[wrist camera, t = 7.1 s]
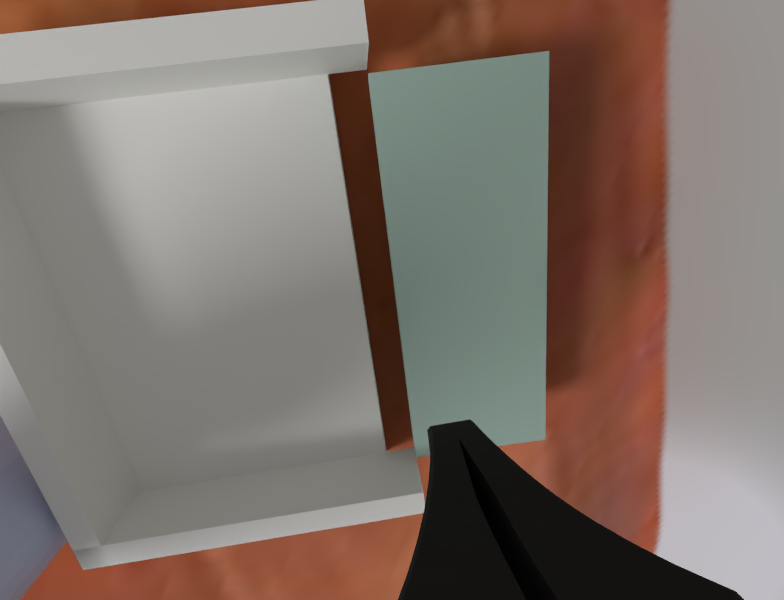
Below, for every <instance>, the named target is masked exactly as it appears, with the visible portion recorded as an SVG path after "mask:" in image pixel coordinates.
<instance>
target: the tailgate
mask: <svg viewBox="0 0 784 600" xmlns="http://www.w3.org/2000/svg"><path fill="white" fill-rule="evenodd" d="M368 83H369V91H370V99H371V107H372V115H373V123H374V131H375V139H376V147H377V155H378V163H379V171H380V179H381V187H382V195H383V203H384V211H385V219H386V227H387V235H388V243H389V251H390V259H391V267H392V275H393V283H394V291H395V299H396V307H397V315H398V323H399V331H400V339H401V347H402V355H403V363H404V371H405V379H406V387H407V395H408V403H409V411H410V419H411V427H412V435H413V442H414V448H415V455H416V457H423V456H430V449H429V441H428V432H427V430H428V428H429V427H430V426H434V425H440V424H446V423H452V422H457V421H463V420H469V419H470V420H471V421H473V422H474V423H475V424H476V425H477V426H478V427H479V428H480V429H481V430H482V431H483V432H484V433H485V435H486V436H487V437H488V438H489V439H490V440H492V441H493V442H494V443H495V444H496V445H497V446H502V445H509V444H516V443H523V442H530V441H537V440H545V419H546V321H547V224H548V126H549V51H544V52H536V53H527V54H519V55H511V56H503V57H495V58H487V59H479V60H471V61H463V62H455V63H447V64H439V65H431V66H423V67H415V68H407V69H399V70H391V71H383V72H375V73H368Z"/></svg>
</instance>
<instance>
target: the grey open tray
mask: <svg viewBox="0 0 784 600" xmlns="http://www.w3.org/2000/svg"><path fill="white" fill-rule="evenodd" d="M368 47H369V40H368V31H367V23H366V15H365V7H364V0H315V1H306V2H296V3H287V4H278V5H269V6H259V7H250V8H241V9H231V10H222V11H213V12H204V13H194V14H185V15H176V16H166V17H157V18H148V19H139V20H129V21H120V22H111V23H101V24H92V25H83V26H74V27H64V28H55V29H46V30H36V31H27V32H18V33H9V34H0V415H1V417H2V419H3V421H4V423H5V425H6V427H7V429H8V430H9V432H10V434H11V436H12V438H13V440H14V442H15V444H16V445H17V447H18V449H19V451H20V453H21V455H22V457H23V458H24V460H25V462H26V464H27V466H28V468H29V470H30V472H31V473H32V475H33V477H34V479H35V481H36V483H37V485H38V487H39V488H40V490H41V492H42V494H43V496H44V498H45V500H46V501H47V503H48V505H49V507H50V509H51V511H52V513H53V515H54V516H55V518H56V520H57V522H58V524H59V526H60V528H61V530H62V531H63V533H64V535H65V537H66V539H67V541H68V543H69V545H70V546H71V548H72V550H73V552H74V554H75V556H76V558H77V559H78V561H79V563H80V565H81V567H82V569H83V570H87V569H93V568H99V567H105V566H111V565H117V564H123V563H129V562H135V561H141V560H147V559H153V558H158V557H164V556H170V555H176V554H182V553H188V552H194V551H200V550H206V549H212V548H218V547H224V546H230V545H236V544H242V543H248V542H254V541H260V540H266V539H272V538H278V537H284V536H290V535H296V534H302V533H308V532H314V531H320V530H326V529H332V528H338V527H343V526H349V525H355V524H361V523H367V522H373V521H379V520H385V519H391V518H397V517H403V516H409V515H415V514H421V513H424V509H425V502H424V493H423V488H422V483H421V479H420V474H419V469H418V464H417V459H416V455H415V449H414V448H408V449H401V450H395V451H389V452H387V448H386V442H385V435H384V429H383V422H382V416H381V409H380V403H379V396H378V390H377V383H376V377H375V370H374V364H373V357H372V351H371V344H370V338H369V331H368V325H367V318H366V312H365V305H364V299H363V292H362V286H361V279H360V273H359V266H358V260H357V253H356V247H355V240H354V234H353V227H352V221H351V214H350V208H349V201H348V195H347V188H346V182H345V175H344V169H343V162H342V156H341V149H340V143H339V136H338V130H337V123H336V117H335V110H334V104H333V97H332V91H331V84H330V78H329V74H334V73H343V72H351V71H360V70H367V61H368Z"/></svg>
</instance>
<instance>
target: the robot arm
mask: <svg viewBox="0 0 784 600" xmlns="http://www.w3.org/2000/svg"><path fill="white" fill-rule="evenodd" d="M427 432H428V441H429V449H430V472H429V483H428V490H427V496H426V503H425V509H424V514H423V519H422V523H421V527H420V532H419V536H418V540H417V543H416V547H415V550H414V554H413V557H412V561H411V564H410V567H409V570H408V574H407V577H406V579H405V582H404V585H403V587H402V590H401V593H400V596H399V598H398V600H744V599H743V598H742V597H741V596H740V595H739V594H737V592H735V591H733V590H731V589H729V588H726V587H724V586H722V585H720V584H717V583H715V582H713V581H710V580H708V579H706V578H704V577H702V576H699V575H697V574H695V573H693V572H690V571H688V570H686V569H684V568H681V567H679V566H677V565H675V564H673V563H671V562H669V561H667V560H665V559H663V558H661V557H659V556H657V555H655V554H653V553H651V552H649V551H647V550H645V549H643V548H641V547H639V546H637V545H635V544H633V543H632V542H630V541H628V540H626V539H624V538H623V537H621V536H619V535H617V534H616V533H614V532H612V531H611V530H609V529H607V528H605V527H604V526H602V525H600V524H598V523H597V522H595V521H593V520H592V519H590V518H589V517H587V516H585V515H584V514H582V513H581V512H579V511H578V510H576V509H575V508H573V507H572V506H570V505H569V504H567V503H566V502H565V501H563V500H562V499H560V498H559V497H558V496H556V495H555V494H553V493H552V492H551V491H549V490H548V489H547V488H545V487H544V486H543V485H542V484H540V483H539V482H538V481H537V480H535V479H534V478H533V477H532V476H530V475H529V474H528V473H527V472H526V471H524V470H523V469H522V468H521V467H520V466H519V465H517V464H516V463H515V462H514V461H513V460H512V459H511V458H510V457H508V456H507V455H506V454H505V453H504V452H503V451H502V450H501V449H500V448H499V447H498V446H497V445H496V444H495V443H494V442H493V441H492V440H490V439H489V438H488V437H487V436H486V435H485V433H484V432H483V431H482V430H481V429H480V428H479V427H478V426H477V425H476V424H475V423H474V422H473V421H471V420H470V419H469V420H463V421H457V422H452V423H446V424H440V425H434V426H430V427H429V428H428V430H427ZM66 542H67V539H66V537H65V535H64V533H63V531H62V530H61V528H60V526H59V524H58V522H57V520H56V518H55V516H54V515H53V513H52V511H51V509H50V507H49V505H48V503H47V501H46V500H45V498H44V496H43V494H42V492H41V490H40V488H39V487H38V485H37V483H36V481H35V479H34V477H33V475H32V473H31V472H30V470H29V468H28V466H27V464H26V462H25V460H24V458H23V457H22V455H21V453H20V451H19V449H18V447H17V445H16V444H15V442H14V440H13V438H12V436H11V434H10V432H9V430H8V429H7V427H6V425H5V423H4V421H3V419H2V417H1V415H0V600H20V599H21V598H22V597H23V596H24V594H25V593H26V592H27V591H28V589H29V588H30V587H31V586H32V584H33V583H34V582H35V581H36V579H37V578H38V577H39V576H40V574H41V573H42V572H43V571H44V569H45V568H46V567H47V566H48V565H49V563H50V562H51V561H52V560H53V558H54V557H55V556H56V555H57V553H58V552H59V551H60V550H61V548H62V547H63V546H64V545H65V543H66Z"/></svg>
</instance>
